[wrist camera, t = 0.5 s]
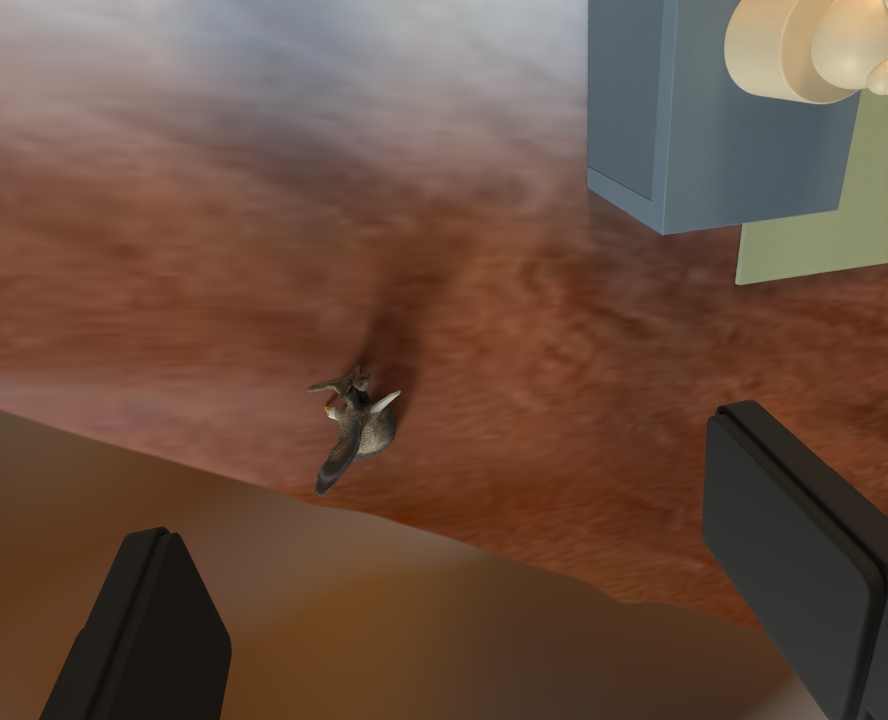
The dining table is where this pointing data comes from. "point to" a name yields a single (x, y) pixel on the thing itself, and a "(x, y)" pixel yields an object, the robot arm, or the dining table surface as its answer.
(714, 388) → the dining table surface
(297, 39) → the dining table surface
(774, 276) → the mat
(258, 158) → the dining table surface
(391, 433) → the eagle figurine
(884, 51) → the bear
